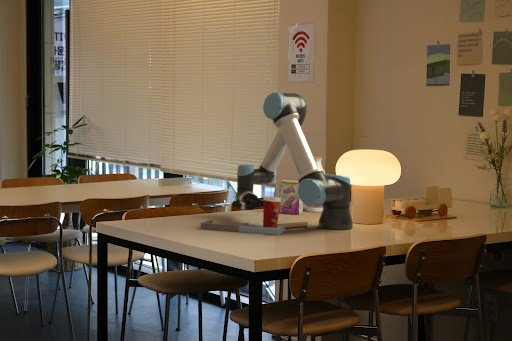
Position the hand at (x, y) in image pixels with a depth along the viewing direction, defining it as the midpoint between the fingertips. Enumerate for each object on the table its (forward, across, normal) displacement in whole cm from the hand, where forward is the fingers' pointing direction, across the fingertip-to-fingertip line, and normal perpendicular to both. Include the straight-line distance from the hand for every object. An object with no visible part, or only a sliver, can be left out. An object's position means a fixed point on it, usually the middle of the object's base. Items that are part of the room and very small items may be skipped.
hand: (259, 206), depth 314 cm
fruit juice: (-57, -43, -10) cm, 72 cm away
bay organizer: (+2, +8, -10) cm, 12 cm away
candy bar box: (-49, -27, -10) cm, 57 cm away
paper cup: (+4, -4, -10) cm, 11 cm away
